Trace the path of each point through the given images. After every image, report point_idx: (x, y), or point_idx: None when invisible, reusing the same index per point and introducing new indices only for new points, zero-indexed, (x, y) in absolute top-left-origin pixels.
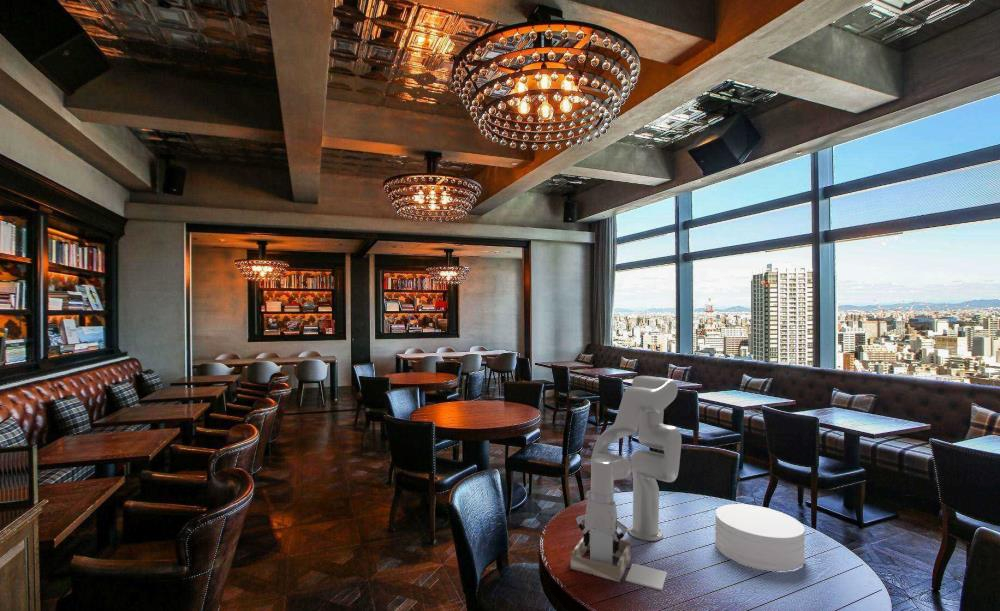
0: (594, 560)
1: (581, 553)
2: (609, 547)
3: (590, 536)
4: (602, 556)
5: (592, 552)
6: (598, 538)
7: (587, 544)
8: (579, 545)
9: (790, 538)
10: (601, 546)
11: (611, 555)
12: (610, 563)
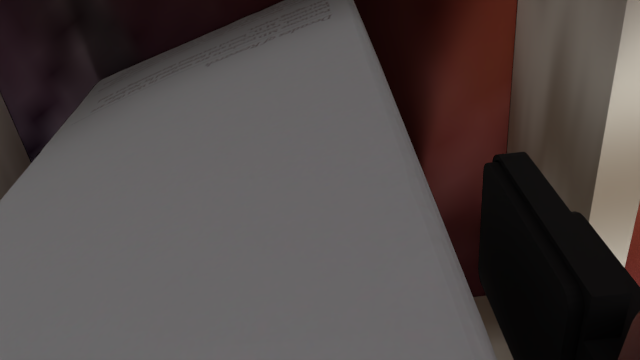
0: (288, 18)
1: (527, 150)
2: (4, 230)
3: (456, 259)
4: (165, 90)
5: (326, 46)
6: (173, 254)
7: (486, 207)
8: (609, 145)
9: None
10: (146, 168)
11: (33, 164)
12: (89, 105)
